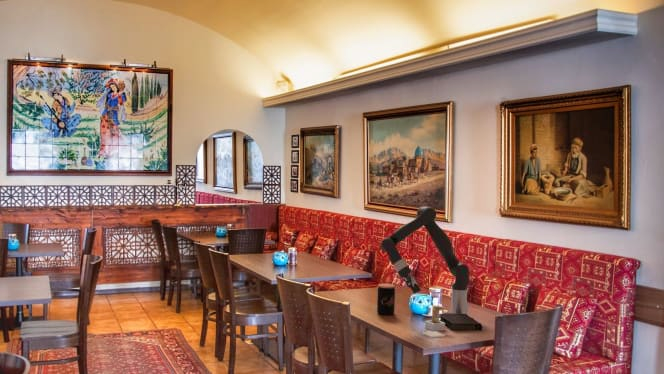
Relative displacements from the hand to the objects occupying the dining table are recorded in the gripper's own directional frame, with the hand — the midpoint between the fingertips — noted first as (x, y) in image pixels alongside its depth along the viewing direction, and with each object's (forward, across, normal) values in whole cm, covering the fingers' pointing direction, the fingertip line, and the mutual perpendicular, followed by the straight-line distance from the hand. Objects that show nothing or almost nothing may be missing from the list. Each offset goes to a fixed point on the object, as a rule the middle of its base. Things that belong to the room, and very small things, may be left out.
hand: (417, 292), depth 398 cm
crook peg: (+23, -1, +2) cm, 24 cm away
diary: (+29, +13, -6) cm, 32 cm away
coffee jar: (-1, +22, +31) cm, 38 cm away
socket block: (+22, -1, +3) cm, 23 cm away
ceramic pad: (+25, -15, +2) cm, 29 cm away
